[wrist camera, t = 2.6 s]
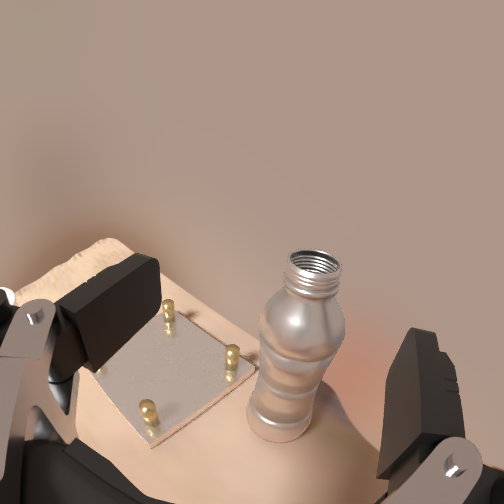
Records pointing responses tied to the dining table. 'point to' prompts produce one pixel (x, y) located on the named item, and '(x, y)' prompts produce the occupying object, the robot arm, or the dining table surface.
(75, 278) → the dining table surface
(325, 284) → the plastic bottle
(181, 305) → the dining table surface
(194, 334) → the plate
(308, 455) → the dining table surface
